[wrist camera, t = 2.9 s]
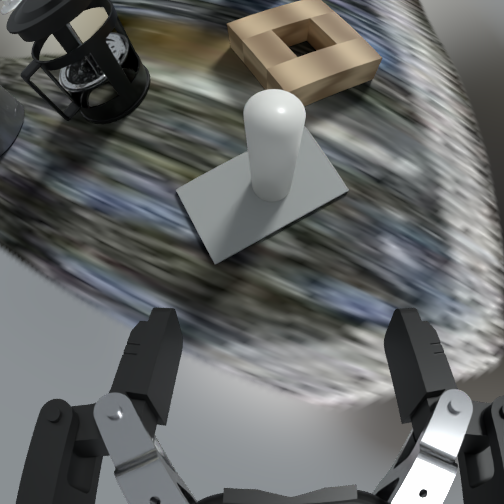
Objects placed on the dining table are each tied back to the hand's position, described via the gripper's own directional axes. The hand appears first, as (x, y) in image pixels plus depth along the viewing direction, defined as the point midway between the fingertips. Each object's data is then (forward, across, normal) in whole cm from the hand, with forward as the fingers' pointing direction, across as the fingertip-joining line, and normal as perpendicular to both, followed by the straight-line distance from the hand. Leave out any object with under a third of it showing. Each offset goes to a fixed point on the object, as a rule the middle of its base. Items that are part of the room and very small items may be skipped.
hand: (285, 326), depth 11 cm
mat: (+20, +1, +4) cm, 20 cm away
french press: (+29, +19, -5) cm, 35 cm away
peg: (+20, 0, +3) cm, 20 cm away
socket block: (+31, -3, -8) cm, 32 cm away
